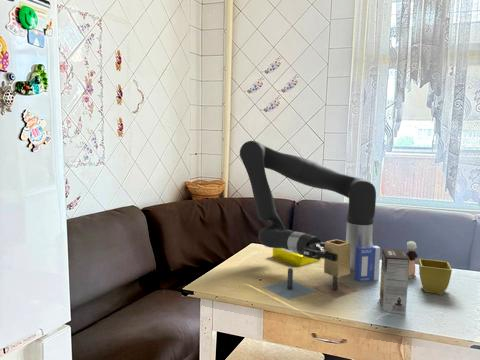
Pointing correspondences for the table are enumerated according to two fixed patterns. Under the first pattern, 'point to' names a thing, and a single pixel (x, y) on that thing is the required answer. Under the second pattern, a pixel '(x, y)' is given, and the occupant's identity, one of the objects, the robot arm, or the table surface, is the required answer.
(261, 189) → the robot arm
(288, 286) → the blue peg stand
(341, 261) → the bronze sleeve
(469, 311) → the table surface
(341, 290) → the walnut stand
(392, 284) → the coffee box
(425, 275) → the flower pot
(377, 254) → the walkman
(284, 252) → the element tile
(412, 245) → the grandmother figurine
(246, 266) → the table surface
